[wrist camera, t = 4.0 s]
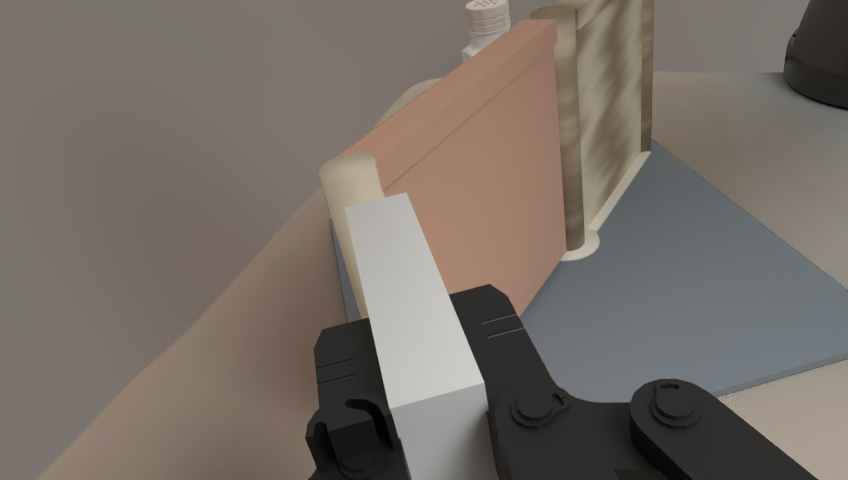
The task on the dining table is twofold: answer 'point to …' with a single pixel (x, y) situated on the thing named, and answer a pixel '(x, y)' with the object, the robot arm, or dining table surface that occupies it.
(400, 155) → the pink wooden flat board
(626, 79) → the fixed fence section
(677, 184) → the card
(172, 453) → the dining table surface
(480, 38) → the salt shaker
